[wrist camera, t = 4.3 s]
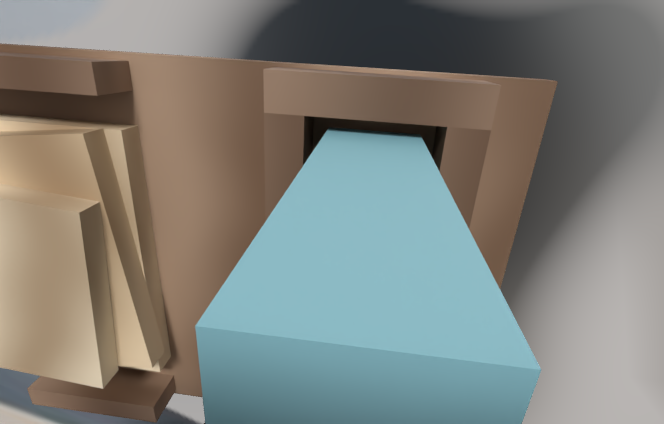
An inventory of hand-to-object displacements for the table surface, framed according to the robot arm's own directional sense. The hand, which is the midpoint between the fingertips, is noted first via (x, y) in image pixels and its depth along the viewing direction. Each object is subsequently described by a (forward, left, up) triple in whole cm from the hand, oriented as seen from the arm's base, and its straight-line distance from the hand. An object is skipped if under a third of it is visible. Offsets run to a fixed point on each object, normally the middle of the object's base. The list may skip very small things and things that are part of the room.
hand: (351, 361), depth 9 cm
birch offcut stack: (-9, 0, -4) cm, 10 cm away
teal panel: (0, 0, -3) cm, 3 cm away
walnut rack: (-4, 0, -4) cm, 6 cm away
